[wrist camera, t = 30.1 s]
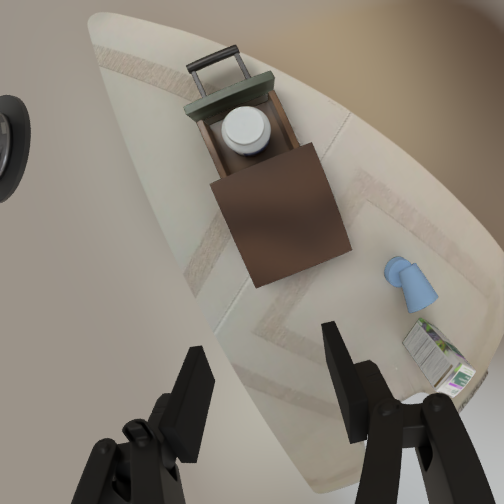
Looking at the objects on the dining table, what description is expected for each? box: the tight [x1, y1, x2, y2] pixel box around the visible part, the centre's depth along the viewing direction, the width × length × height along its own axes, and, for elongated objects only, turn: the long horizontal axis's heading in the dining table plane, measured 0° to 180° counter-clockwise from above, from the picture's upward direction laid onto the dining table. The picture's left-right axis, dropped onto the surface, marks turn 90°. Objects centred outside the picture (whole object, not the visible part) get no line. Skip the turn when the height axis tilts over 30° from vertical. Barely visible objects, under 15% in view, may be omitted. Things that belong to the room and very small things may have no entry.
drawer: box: [183, 45, 300, 179], centre depth 34 cm, size 19×11×6 cm, turn 23°
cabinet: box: [210, 142, 352, 288], centre depth 37 cm, size 14×13×8 cm
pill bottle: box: [222, 106, 271, 157], centre depth 32 cm, size 5×5×10 cm
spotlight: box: [384, 257, 438, 313], centre depth 38 cm, size 5×10×7 cm
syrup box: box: [403, 318, 476, 398], centre depth 38 cm, size 6×6×14 cm
